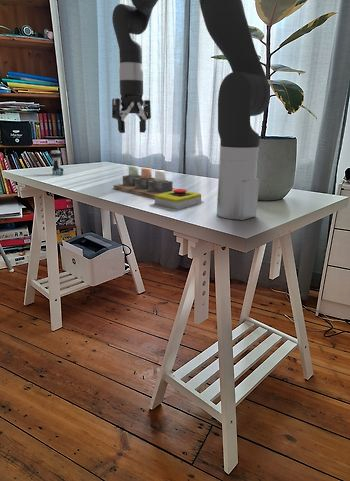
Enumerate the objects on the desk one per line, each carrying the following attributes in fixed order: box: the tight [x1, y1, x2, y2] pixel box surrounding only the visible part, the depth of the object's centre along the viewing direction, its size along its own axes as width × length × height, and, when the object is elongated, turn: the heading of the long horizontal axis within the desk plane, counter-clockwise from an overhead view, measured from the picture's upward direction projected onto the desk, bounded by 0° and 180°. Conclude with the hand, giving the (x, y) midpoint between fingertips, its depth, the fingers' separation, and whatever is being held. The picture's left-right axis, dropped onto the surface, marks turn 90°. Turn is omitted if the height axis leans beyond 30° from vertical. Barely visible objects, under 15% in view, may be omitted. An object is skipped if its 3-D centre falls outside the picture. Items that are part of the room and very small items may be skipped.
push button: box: [48, 150, 64, 176], centre depth 145 cm, size 7×5×10 cm
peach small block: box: [140, 167, 153, 180], centre depth 114 cm, size 3×3×4 cm
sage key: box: [128, 165, 140, 177], centre depth 119 cm, size 3×3×4 cm
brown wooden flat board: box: [113, 174, 176, 200], centre depth 115 cm, size 22×12×4 cm, turn 44°
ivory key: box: [154, 169, 167, 183], centre depth 109 cm, size 3×3×4 cm
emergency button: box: [149, 188, 205, 212], centre depth 99 cm, size 9×4×15 cm
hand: (132, 132), depth 114 cm, fingers open, 8 cm apart
